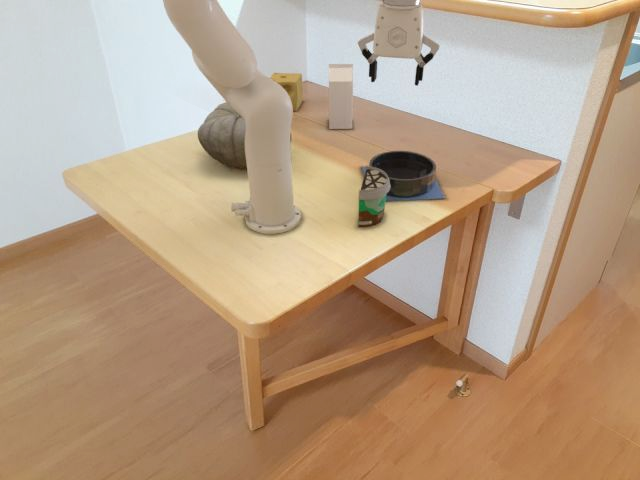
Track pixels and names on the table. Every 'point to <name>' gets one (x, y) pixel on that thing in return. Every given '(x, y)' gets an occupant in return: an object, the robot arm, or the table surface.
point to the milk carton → (340, 96)
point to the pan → (406, 172)
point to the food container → (372, 197)
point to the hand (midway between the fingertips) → (395, 82)
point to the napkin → (432, 194)
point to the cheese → (290, 86)
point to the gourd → (224, 136)
